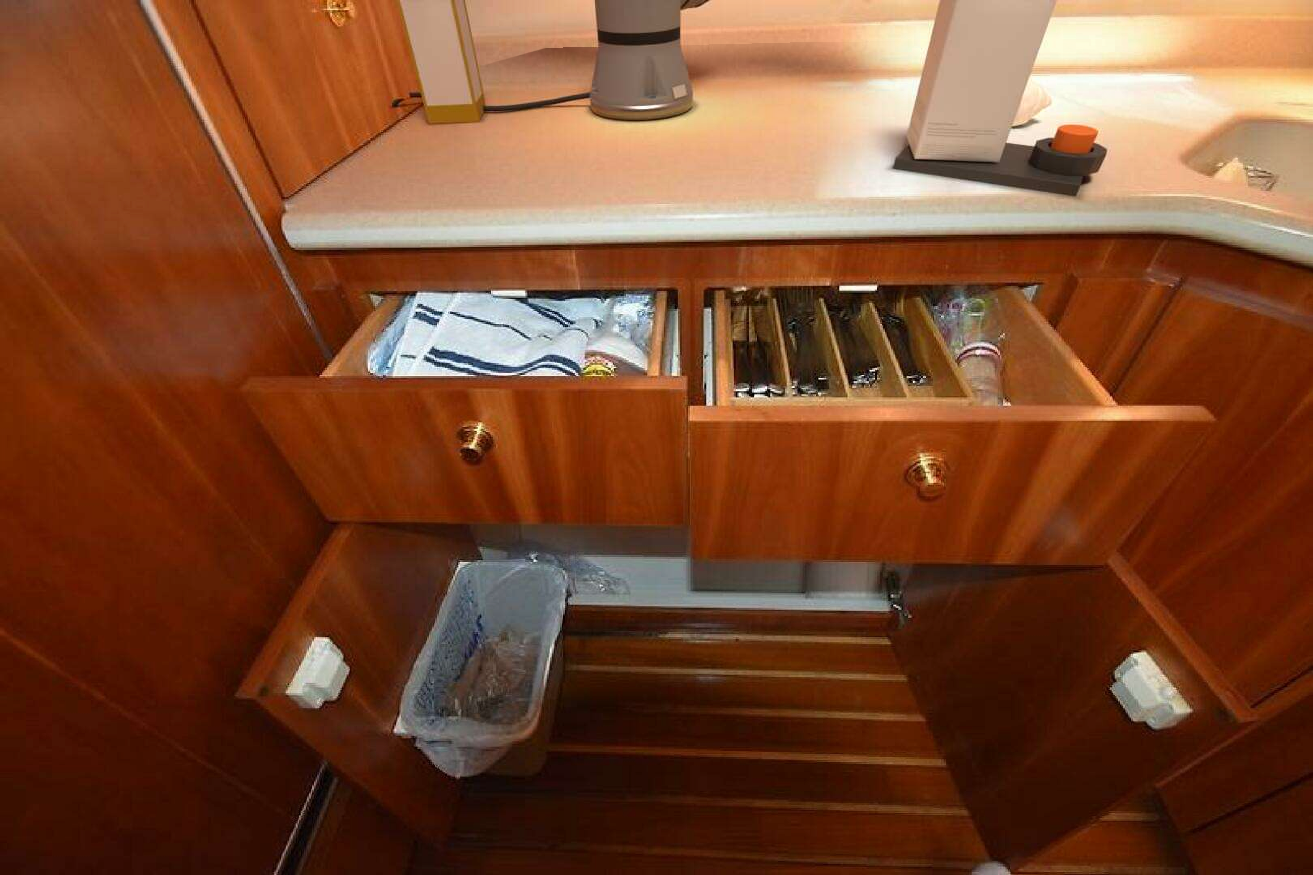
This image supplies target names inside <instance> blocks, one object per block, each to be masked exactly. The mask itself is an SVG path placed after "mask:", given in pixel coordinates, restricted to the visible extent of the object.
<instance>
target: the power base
mask: <svg viewBox="0 0 1313 875" xmlns="http://www.w3.org/2000/svg"><path fill="white" fill-rule="evenodd" d="M1053 139H1054V137H1046V138H1042V139H1037V140H1036V141H1035V144H1034V145H1027V144H1019V143H1012V142H1006V144H1005V147H1004V150H1003V153H1002V156H1001V159H1000V161H999V162H998V163H994V162H977V161H954V160H931V159H915V158H914V156H913V153H912V150H911V147H910V145H909V143H908V144H907V145H906V146H905V147H904V148H903V149H902V150H901V152H900V153H899V154H898V155H897V156H896V157H895V159H894V163H893V167H892V170H898V171H904V172H908V173H909V172H910V173H917V174H921V175H922V174H923V175H929V176H937V177H942V178H943V177H944V178H949V179H955V180H963V181H969V182H976V183H982V184H989V185H996V186H1003V187H1009V188H1014V189H1022V190H1028V191H1036V192H1041V193H1049V194H1055V195H1062V196H1068V197H1074V198H1076V197H1077V195H1078V193H1079V191H1080V188H1081V186H1082V182H1083V177H1085V176H1090V175H1093V174H1096V173H1098V172H1099V171H1100V170H1101V168H1102V165H1103V163H1104V161H1105V158H1106V156H1107V154H1108V149H1107V148H1106V147H1105V146H1102V145H1101V144H1099V143H1096V142H1094V143H1093V145H1092V148H1091V150H1090V152H1089V153H1078V154H1075V153H1067V152H1061V151H1058V150H1054V149H1052V148H1050V147H1051V144H1052V142H1053Z"/></svg>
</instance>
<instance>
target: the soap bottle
mask: <svg viewBox="0 0 1313 875" xmlns="http://www.w3.org/2000/svg"><path fill="white" fill-rule="evenodd" d="M395 1H396V4H397V8H398V11H399V15H400V19H401V23H402V27H403V31H404V35H405V38H406V43H407V46H408V50H409V54H410V57H411V61H412V65H413V69H414V73H415V76H416V80H417V83H418V88H419V91H420V93H421V96H422V98H421V99H422V103H423V105H424V106H423V107H424V110H425V114H426V118H427V121H428V124H429V125H433V124H434V125H435V124H451V123H452V124H455V123H476V122H477V123H478V122H480V121H481V119H482V118H483V115H484V114H485V112H486V111H483V106H487V104H486V99H485V94H484V89H483V84H482V79H481V74H480V68H479V64H478V59H477V53H476V50H475V49H476V48H475V45H474V40H473V33H472V29H471V24H470V20H469V13H468V9H467V8H468V7H467V4H466V0H395Z"/></svg>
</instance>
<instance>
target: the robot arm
mask: <svg viewBox="0 0 1313 875" xmlns="http://www.w3.org/2000/svg"><path fill="white" fill-rule="evenodd" d="M710 1H711V0H594V8H595V10H594V11H595V21H596V31H597V48H598V49H597V54H596V59H595V64H594V70H593V75H592V80H591V87H590V91H589V92H583V93H577V94H571V95H566V96H561V97H556V98H551V99H544V100H538V101H537V100H536V101H533V102H532V101H531V102H525V103H524V102H523V103H517V104H507V105H486V106H483V111H485V112H511V111H520V110H527V109H533V108H534V109H535V108H539V107H547V106H553V105H558V104H563V103H569V102H573V101H579V100H586V99H589V100H590V102H589V103H590V109H591V111H592V112H593V113H594V114H596V115H598V116H601V117H604V118H608V119H609V118H610V119H616V120H628V121H629V120H631V121H640V120H641V121H642V120H643V121H644V120H656V119H657V120H658V119H663V118H669V117H674V116H678V115H681V114H683V113H685V112H687V111H689V110H690V109H691V108H692V107H693V101H694V98H693V97H694V91H693V87H692V84H691V80H690V76H689V71H688V69H687V64H686V61H685V57H684V52H683V49H682V45H681V44H682V42H681V23H682V20H681V18H682V16H681V14H682V12H681V11H684V10H687V9H696V8H697V9H698V8H699V7H702V6H703V5H705V4H707V3H709V2H710ZM408 93H409V95H410V98H407V99H396V98H395V99H396V100H395V99H394V100H393V101H392V103H391V104H392V107H391V108H396V107H397V106H399V104H400V103H401V102H404V101H405V100H408V99H414V98H415V99H416V98H417V99H420V98H421V99H422V96H421V92H418V91H416V92H415V91H414V92H412V91H411V92H408Z"/></svg>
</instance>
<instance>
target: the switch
mask: <svg viewBox="0 0 1313 875" xmlns="http://www.w3.org/2000/svg"><path fill="white" fill-rule="evenodd" d="M1098 134H1099V130H1098V129H1096V128H1094V127H1091V126H1088V125H1082V124H1061V125H1059V126H1058V127H1057V129H1056V132H1055V134H1054V137H1053V138H1054V139H1053V142H1052V144H1051V147H1050V148H1052V149H1054V150H1058V151H1061V152H1067V153H1075V154H1078V153H1089V152H1090V150H1091V148H1092V145H1093V143H1095V141H1096V139H1097V136H1098Z"/></svg>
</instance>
